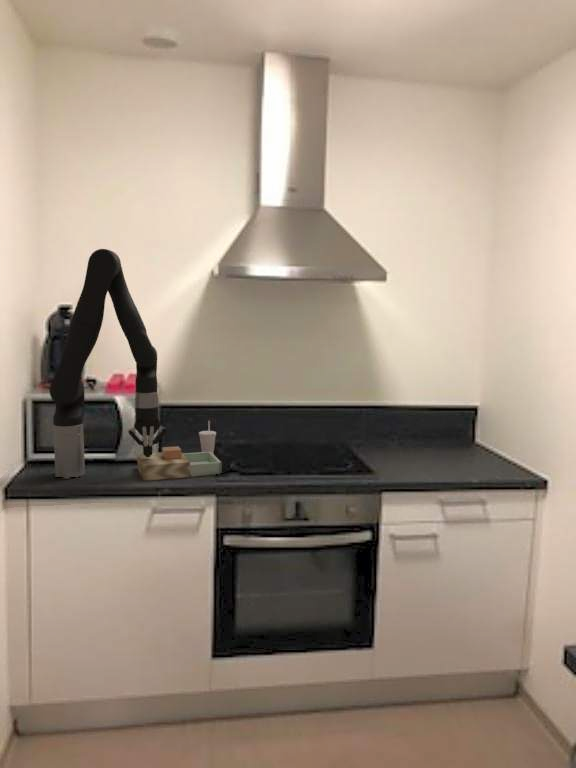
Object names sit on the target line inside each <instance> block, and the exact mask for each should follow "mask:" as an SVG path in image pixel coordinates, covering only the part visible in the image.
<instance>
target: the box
mask: <svg viewBox="0 0 576 768" xmlns="http://www.w3.org/2000/svg"><path fill="white" fill-rule="evenodd" d="M182 453H183V454H184V456H185V457H186V458H187V459H188V460H189V462H190V477H191V478H193V477H194V478H195V477H203V476H204V477H205V476H217V475H216V474H218V475H221V474H220V473H223V472H222V470H223V468H222V467H223V466H222V465H223V462H222V461H221V460H220V459H219V458H218V457H217V456H216V455H215V453H214V452H213V453H212V452H202V451H200V452H198V451H197V452H187V453H185V452H182Z"/></svg>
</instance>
